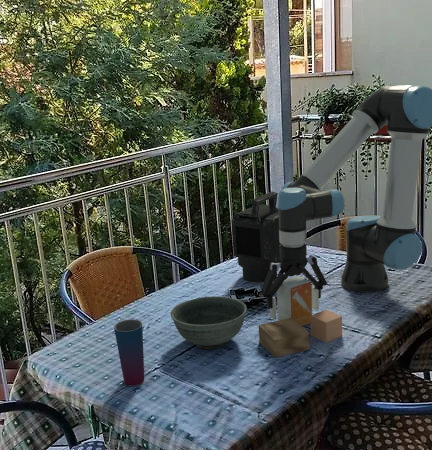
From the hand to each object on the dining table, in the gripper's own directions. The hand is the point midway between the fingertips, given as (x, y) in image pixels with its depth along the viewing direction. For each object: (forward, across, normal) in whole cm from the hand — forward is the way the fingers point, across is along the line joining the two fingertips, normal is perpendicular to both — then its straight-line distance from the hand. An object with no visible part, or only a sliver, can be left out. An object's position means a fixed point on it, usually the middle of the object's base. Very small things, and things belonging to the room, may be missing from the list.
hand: (294, 313), depth 170 cm
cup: (+4, +50, +11) cm, 51 cm away
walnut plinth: (+3, +9, +11) cm, 14 cm away
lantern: (+3, -7, -38) cm, 39 cm away
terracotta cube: (+3, -4, +11) cm, 12 cm away
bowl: (+3, +26, 0) cm, 26 cm away
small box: (+3, 0, 0) cm, 3 cm away
